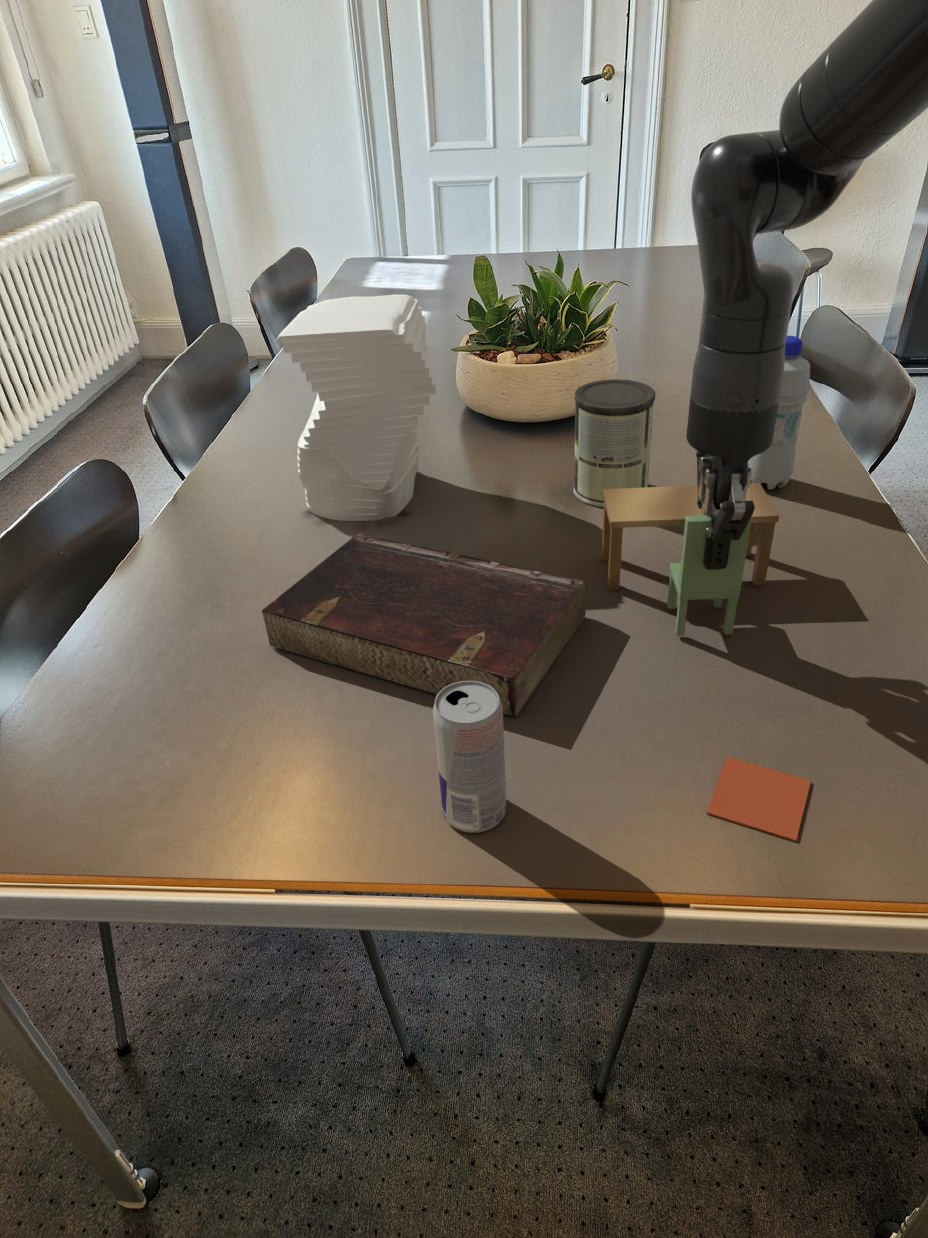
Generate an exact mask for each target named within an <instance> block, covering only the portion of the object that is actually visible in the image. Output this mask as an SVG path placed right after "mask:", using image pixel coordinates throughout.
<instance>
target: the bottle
mask: <svg viewBox="0 0 928 1238" xmlns="http://www.w3.org/2000/svg"><path fill="white" fill-rule="evenodd" d="M802 350H803V341H802V339H801V338H800V337H798V336H795V335H787V338H786V342H785V365H784V375H783V381H782V387H781V394H780V400H779V406H778V412H777V418H776V424H775V430H774V436H773V442H772V444H771V446H770V447H769V448H768V449H767V450H766V451H764V452H763V453H761V454H758V455H755V456H754V457H752V458H751V459H750V460H749V461H748V467H750V468H751V471H752V476H751V483H760V484H761V485H762V484H766V485H767V486H766V487H767V490H768V491H773V490H774V489H775V488H776V486H777V488H779V489H782V488H784V487H785V486H786V485H787V484H788V483H789V480H790V478H791V476H792V475H793V473H794V472H793V471H794V467H795V458H796V448H797V441H798V436H799V431H800V425H801V420H802V414H803V408H804V404H805V402H807V400H808V393H809V391H810V389H811V388H810V387H811V386H810V379H811V378H810V377H811V363H810V362H809V361H808V360H807V359H805V358H803V357H801V356H802V355H801V354H802Z"/></svg>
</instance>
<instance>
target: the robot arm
mask: <svg viewBox="0 0 928 1238" xmlns="http://www.w3.org/2000/svg"><path fill="white" fill-rule="evenodd" d="M927 109H928V0H871V1H870V2H869V3H868V5H866V6H865V8H864V9H863V10H862V11H861V12H860V13H859V14H858V15H857V16H856V17H855V18H854V19H853V20H852V21H851V22H850V23H849V25H847V26H846V27H845V29H844V30H842V32H840V34H838V36H837V37H836V38H835V39H834V40H833V41H832V42H831V43H830V44H829V45H828V46H827V47H826V49H824V50H823V52H821V54H820V55H819V56H818V57H817V58H816V59H815V60H814V61H813V63H811V65H810V66H808V67H807V69H806V70H805V71H804V72H803V73H802V75H800V77H799V78H798V79H797V80H796V82H795V83H794V84H793V85H792V87H791V88H790V90H789V91H788V93H787V94H786V96H785V98H784V101H783V103H782V105H781V108H780V111H779V112H780V113H779V121H778V126H779V129H775V130H765V131H755V132H747V133H737V134H730V135H729V134H728V135H727V136H726V135H725V136H723V137H720V138H719V139H717V140H716V141H714V142H713V143H712V144H711V145H710V146H709V147H708V148H707V149H706V150H705V152H704V153H703V155H702V156H701V158H700V160H699V161H698V164H697V166H696V168H695V172H694V175H693V177H692V178H693V179H692V184H691V191H690V193H691V194H690V203H691V214H692V220H693V225H694V231H695V235H696V242H697V248H698V255H699V263H700V270H701V277H702V285H703V300H702V308H701V309H702V311H701V320H700V330H699V340H698V345H697V350H696V354H695V358H694V362H693V369H692V378H691V385H690V395H689V406H688V414H687V415H688V416H687V425H686V441H687V443H688V445H689V446H690V447H692V449H694V450H696V453H695V456H696V473H697V474H696V479H697V481H696V482H697V484H696V486H697V487H698V500H697V505H698V508H699V509H701V514H700V516H703V515H707V516H708V521H707V528H706V542H705V550H704V558H703V564H704V567H705V568H706V569H708V570H712V569H724V568H726V567H727V563H728V557H729V550H730V543H731V540H740V538H741V536H742V534H743V532H744V530H745V528H746V526H747V524H748V522H749V520H750V518H751V516H752V514H753V512H754V509H755V506H754V502H753V501H745V499H746V492H747V488H748V487H749V486H750V483H751V476H752V471H751V468H750V467H748V461H749V460H750V459H751V458H752V457H754V456H755V455H758V454H761V453H763V452H764V451H766V450H767V449H768V448H769V447H770V446H771V444H772V442H773V436H774V430H775V424H776V418H777V412H778V406H779V400H780V394H781V387H782V381H783V375H784V365H785V342H786V338H787V336H788V330H789V324H790V319H791V312H792V307H793V306H792V305H793V299H794V291H795V290H794V289H795V281H794V277H793V274H792V273H791V272H790V270H789V269H787V268H786V267H784V266H782V265H779V264H777V263H772V262H767V261H758V260H757V258H756V253H755V249H754V236H755V235H762V234H768V233H776V232H783V231H789V230H794V229H797V228H801V227H803V226H806V225H807V224H809V223H811V222H813V221H814V220H817V219H818V218H819V217H821V216H822V215H824V214H825V213H826V212H827V211H828V210H830V208H831V207H832V206H833V205H834V204H835V203H836V201H837V200H838V198H839V197H840V196H841V195H842V193H843V192H844V190H845V189H846V188H847V186H848V185H849V184H850V182H851V181H852V180H853V178H854V177H855V176H856V174H857V172H858V171H859V169H860V168H861V167H862V164H863V163H864V161H865V160H866V159H868V158H870V156H871V155H873V154H874V153H875V152H877V151H878V150H879V149H881V148H882V147H883V146H884V145H886V143H888V142H889V141H890V140H891V139H893V138H894V137H895V136H896V135H897V134H899V133H900V132H901V131H903V129H905V128H906V127H907V126H908V125H910V124H911V123H912V122H913V121H914V120H916V119H917V118H919V116H921V115H922V114H923V113H924V112H925V111H926V110H927Z"/></svg>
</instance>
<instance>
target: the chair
mask: <svg viewBox="0 0 928 1238" xmlns="http://www.w3.org/2000/svg"><path fill="white" fill-rule="evenodd" d="M707 521H708V516H707V515H703V516H686V519H685V525H684V529H683V536H682V537H683V539H682V546H681V547H682V548H681V557H680V562H670V563H669V582H668V591H667V600H666V606H667V610H676V608H677V611H676V612H677V613H676V620H675V629H674V633H675V636H677V637H682V636H685V631H686V622H687V621H686V620H687V613H688V604H689V601H690V600H713V601H712V605H713V607H714V608H716V609H717V608H722V607H723V601H724V600H725V599H727V602H726V609H725V615H724V622H723V633H724V635H733V633H734V628H735V627H734V626H735V620H736V613H737V609H738V608H737V606H738V601H739V599H740V597H741V589H742V584H743V577H744V569H745V565H746V564H745V563H746V559H747V558H746V557H747V556H746V552H747V545H748V539H749V532H750V526H751V518H750V520H749V522H748V524H747V526H746V528H745V530H744V532H743V534H742V536H741V538H740V540H731V543H730V550H729V557H728V563H727V567H726V568H724V569H712V570H708V569H706V568H705V567H704V564H703V558H704V550H705V542H706V528H707ZM677 598H678V601H677Z"/></svg>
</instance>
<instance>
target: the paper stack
mask: <svg viewBox="0 0 928 1238" xmlns="http://www.w3.org/2000/svg"><path fill="white" fill-rule="evenodd" d="M426 327H427V326H426V316H425V314H423V311H422V307H421V306H419V301H418V298H414V296H413V295H409V294H397V293H396V294H384V295H373V296H361V295H360V296H358V295H357V296H355V295H354V296H345V297H338V298H337V297H336V298H330V299H325V300H322V301H319V302H317V303H314V304H311V305H308V306H307V307H306V309H303V310H302V311H300V312H299V313H298V314H297V315H296V316H294V318H293V319H292V320H291V321H290V322H289V324H287V326H285V328H284V329H282V331H281V332H280V333H279V334H278V336H277V337H276V339H275V340H274V343H275V344H282V351H283V354H288V353H290V356H291V363H292V364H295V363H297V364H298V363H299V366H300V372H301V373H305V374H304V375H305V379H306V383H310V385H311V386H310V387H311V391H312V392H313V393H315V392H316V393H317V395H316V399H315V401H314V404H313V406H312V410H311V411H310V415H309V417H308V420H307V422H306V425H305V426H304V429H303V431H302V433H301V435H300V436H299V438H298V441H297V447H298V448H297V456H296V457H297V458H296V459H297V463H296V466H297V468H298V469H297V472H298V475H299V480H300V482H301V485H302V487H303V488H304V489H305V490H304V494H305V501H306V505H307V508H308V511H309V512H310V513H312V514H313V515H315V516H316V517H317V516H318V517H319V518H320V517H321V518H323V519H328V520H332V521H341V522H370V521H371V522H373V521H380V520H382V519H385V518H393V517H396V516H397V515H399V514H400V513H401V512H402V510H403V509H404V508H405V507H406V506H407V505H408V504H409V503H410V501H411V500H412V498H413V496H414V487H415V478H416V476H417V471H418V468H419V460H420V452H421V448H420V440H419V439H418V435H419V434H418V425H419V422H418V421H419V420H418V419H419V418H418V417H419V416H423V415H424V413H425V412H424V406H427V405H428V406H429V405H430V402H431V400H430V399H431V398H430V395H436V394H437V388H436V387H437V386H436V382H435V378H434V374H433V373H432V368H431V365H430V361H429V358H428V351H427V344H426V343H427V342H426V339H427V337H426Z"/></svg>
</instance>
